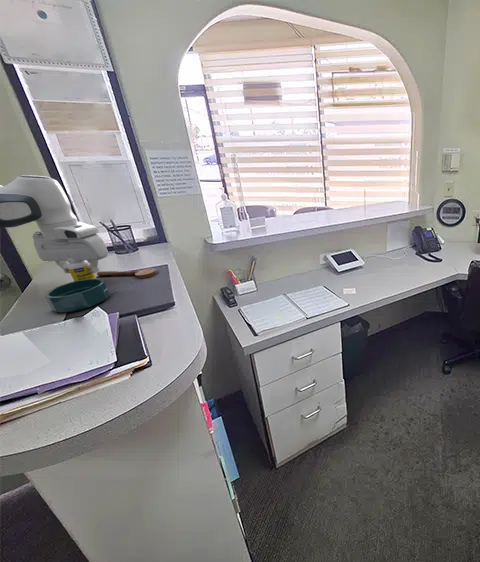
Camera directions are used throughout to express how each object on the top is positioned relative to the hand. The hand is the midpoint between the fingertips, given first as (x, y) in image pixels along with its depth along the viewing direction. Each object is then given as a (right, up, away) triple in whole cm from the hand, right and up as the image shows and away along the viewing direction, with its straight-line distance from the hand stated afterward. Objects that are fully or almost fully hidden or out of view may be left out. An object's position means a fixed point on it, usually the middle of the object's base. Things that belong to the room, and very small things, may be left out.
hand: (82, 272), depth 99 cm
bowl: (+10, -9, -11) cm, 18 cm away
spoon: (+8, -1, +8) cm, 11 cm away
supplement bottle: (0, -4, +2) cm, 4 cm away
